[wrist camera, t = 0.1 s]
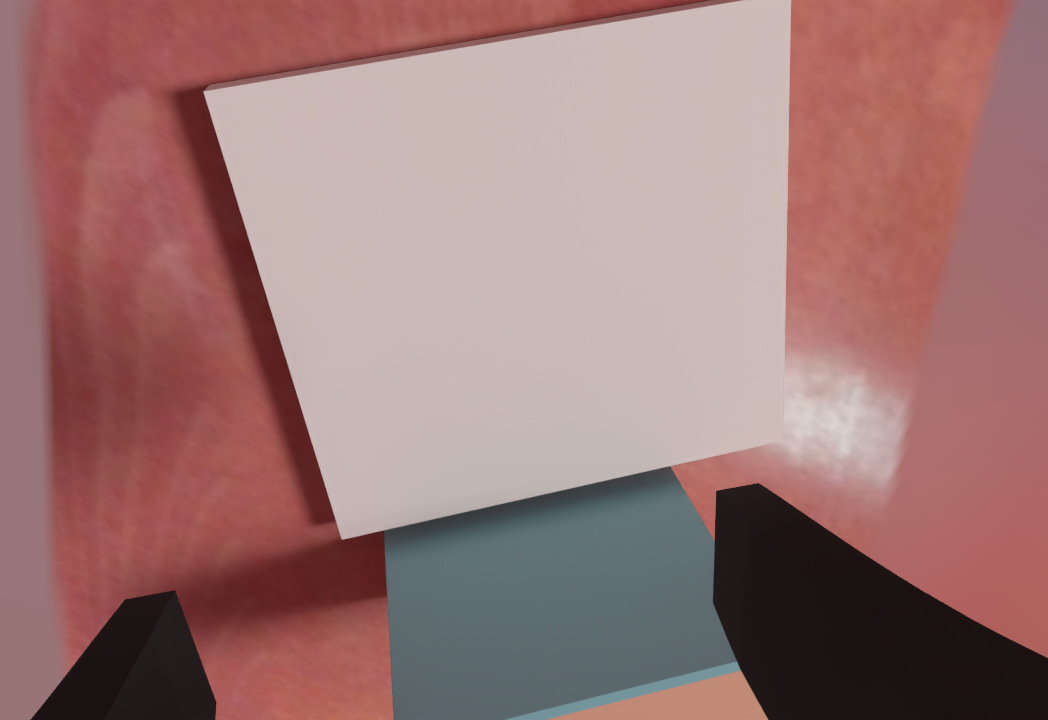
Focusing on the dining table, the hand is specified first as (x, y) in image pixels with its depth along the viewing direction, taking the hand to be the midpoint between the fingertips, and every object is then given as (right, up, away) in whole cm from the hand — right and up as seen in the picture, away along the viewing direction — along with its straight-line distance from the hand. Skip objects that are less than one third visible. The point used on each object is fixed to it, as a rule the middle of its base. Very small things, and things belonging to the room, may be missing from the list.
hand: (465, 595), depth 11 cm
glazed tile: (+1, -2, +12) cm, 12 cm away
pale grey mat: (+1, +5, +9) cm, 10 cm away
